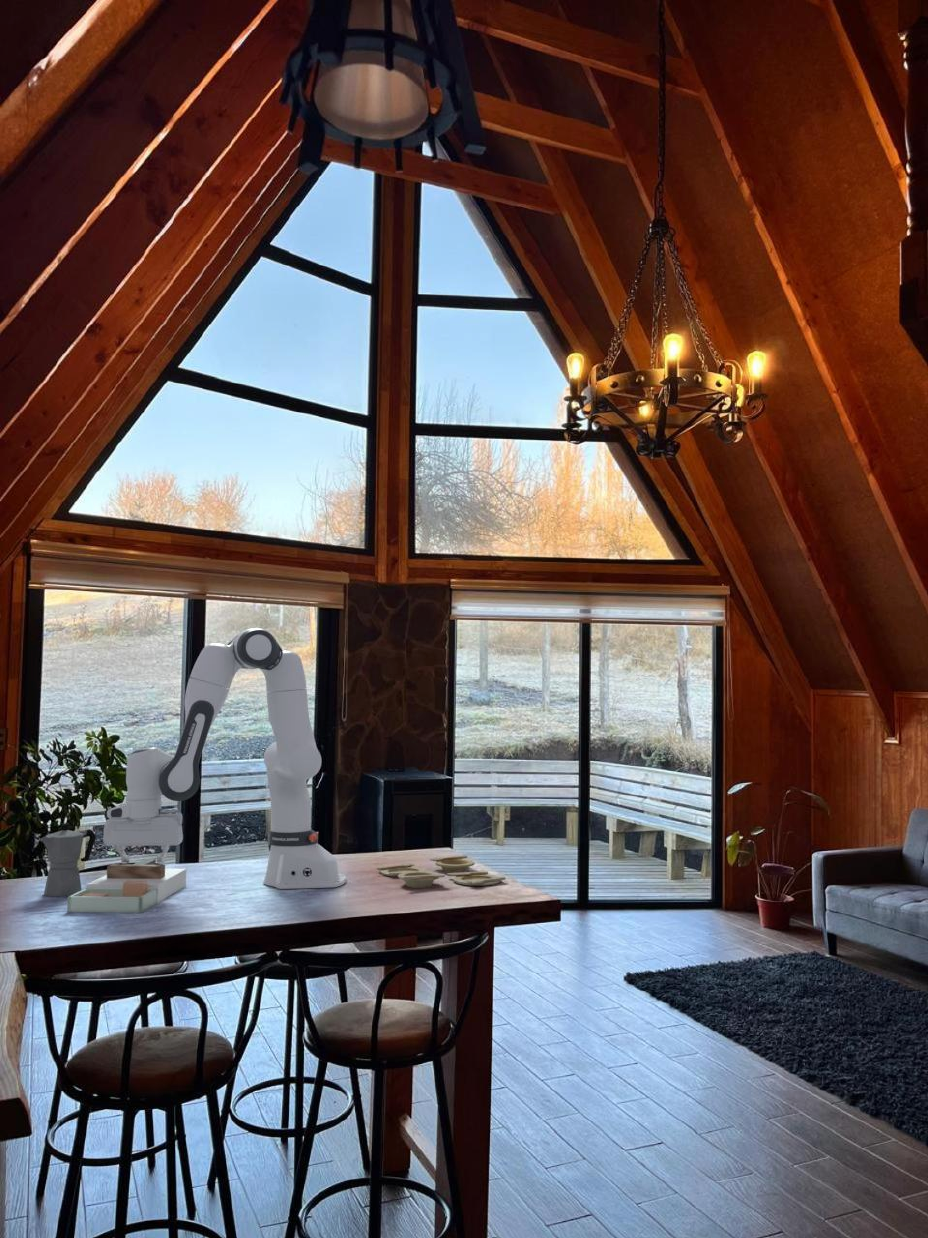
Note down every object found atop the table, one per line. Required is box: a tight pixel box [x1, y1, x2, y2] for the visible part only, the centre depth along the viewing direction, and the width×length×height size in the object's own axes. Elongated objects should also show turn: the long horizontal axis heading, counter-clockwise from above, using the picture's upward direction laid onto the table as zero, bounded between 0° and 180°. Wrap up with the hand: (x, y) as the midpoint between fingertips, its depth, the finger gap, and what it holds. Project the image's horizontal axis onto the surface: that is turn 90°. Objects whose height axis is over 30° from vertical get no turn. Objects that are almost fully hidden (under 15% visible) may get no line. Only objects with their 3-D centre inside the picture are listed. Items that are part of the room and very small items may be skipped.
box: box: [66, 887, 158, 914], centre depth 225 cm, size 18×10×4 cm, turn 88°
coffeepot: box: [39, 822, 97, 898], centre depth 242 cm, size 15×9×18 cm, turn 144°
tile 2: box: [83, 893, 109, 897], centre depth 224 cm, size 5×5×2 cm
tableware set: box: [376, 854, 507, 889], centre depth 263 cm, size 35×29×4 cm
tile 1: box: [123, 881, 147, 897], centre depth 228 cm, size 5×5×2 cm
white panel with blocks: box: [85, 868, 187, 904], centre depth 241 cm, size 18×21×4 cm
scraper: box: [106, 858, 166, 879], centre depth 243 cm, size 14×11×3 cm
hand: (143, 862), depth 243 cm, fingers open, 8 cm apart
